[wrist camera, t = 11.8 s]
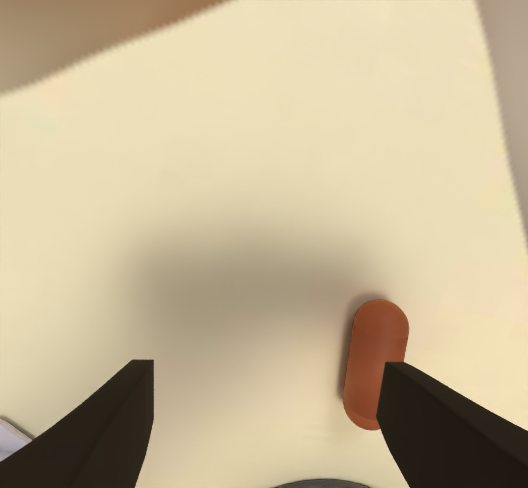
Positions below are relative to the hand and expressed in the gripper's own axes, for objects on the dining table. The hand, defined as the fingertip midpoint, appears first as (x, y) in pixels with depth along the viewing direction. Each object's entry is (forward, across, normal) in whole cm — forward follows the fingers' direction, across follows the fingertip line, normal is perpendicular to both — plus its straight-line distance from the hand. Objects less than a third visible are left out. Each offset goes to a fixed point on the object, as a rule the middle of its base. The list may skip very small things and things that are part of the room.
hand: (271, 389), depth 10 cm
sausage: (+8, -7, +4) cm, 12 cm away
